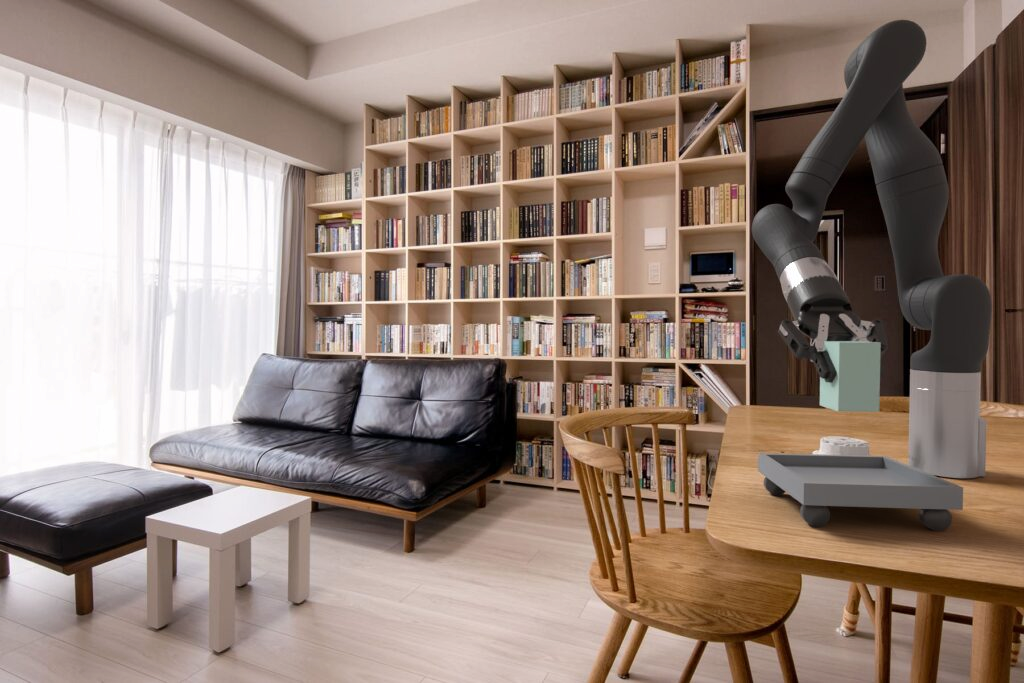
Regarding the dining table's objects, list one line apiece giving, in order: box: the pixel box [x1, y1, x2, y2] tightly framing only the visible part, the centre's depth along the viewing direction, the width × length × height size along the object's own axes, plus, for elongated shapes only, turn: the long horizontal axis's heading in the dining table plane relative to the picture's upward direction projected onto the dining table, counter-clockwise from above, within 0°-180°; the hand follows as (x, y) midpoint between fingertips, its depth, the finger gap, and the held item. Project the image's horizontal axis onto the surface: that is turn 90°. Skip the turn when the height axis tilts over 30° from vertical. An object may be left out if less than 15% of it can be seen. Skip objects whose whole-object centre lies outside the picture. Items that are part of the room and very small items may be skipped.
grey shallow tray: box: [757, 452, 964, 532], centre depth 70 cm, size 18×15×6 cm
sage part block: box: [819, 340, 881, 413], centre depth 69 cm, size 5×5×9 cm
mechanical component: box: [811, 435, 871, 456], centre depth 94 cm, size 10×4×10 cm
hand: (854, 378), depth 68 cm, fingers closed on sage part block, 5 cm apart
